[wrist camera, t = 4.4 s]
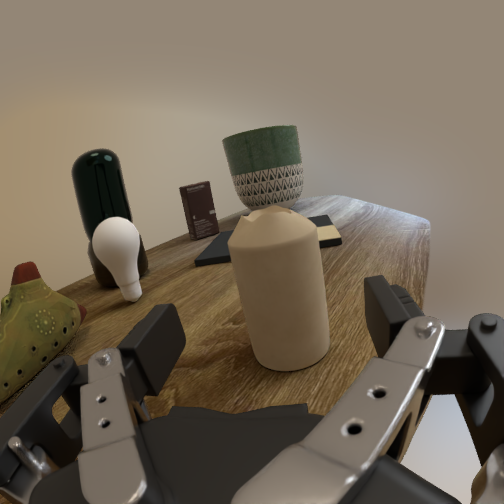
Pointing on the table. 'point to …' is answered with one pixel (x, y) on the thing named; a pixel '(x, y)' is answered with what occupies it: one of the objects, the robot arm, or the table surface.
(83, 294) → the table surface
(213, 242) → the mat
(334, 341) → the table surface
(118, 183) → the lamp
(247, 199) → the planter
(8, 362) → the ocarina
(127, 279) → the lightbulb
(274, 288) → the candle
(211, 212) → the box
